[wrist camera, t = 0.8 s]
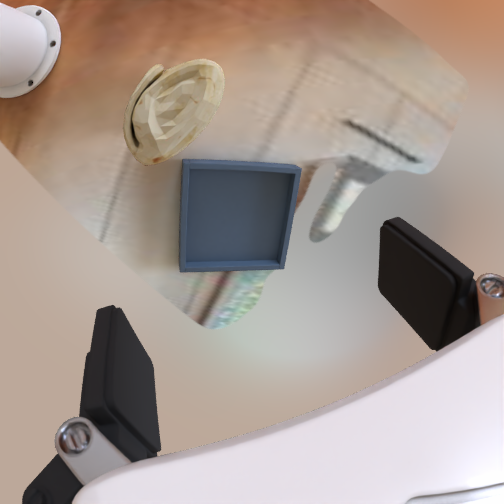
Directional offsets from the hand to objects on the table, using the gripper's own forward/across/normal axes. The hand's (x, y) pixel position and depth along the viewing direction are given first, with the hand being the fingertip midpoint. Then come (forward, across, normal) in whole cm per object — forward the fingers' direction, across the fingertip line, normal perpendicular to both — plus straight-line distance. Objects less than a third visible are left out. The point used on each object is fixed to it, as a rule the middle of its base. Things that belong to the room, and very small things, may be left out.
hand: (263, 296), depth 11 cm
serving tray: (+33, -4, +12) cm, 36 cm away
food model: (+34, +1, -5) cm, 34 cm away
